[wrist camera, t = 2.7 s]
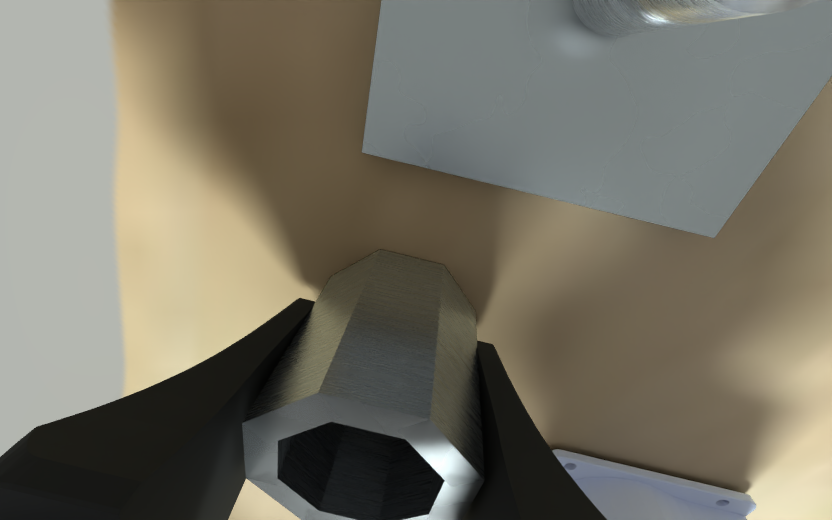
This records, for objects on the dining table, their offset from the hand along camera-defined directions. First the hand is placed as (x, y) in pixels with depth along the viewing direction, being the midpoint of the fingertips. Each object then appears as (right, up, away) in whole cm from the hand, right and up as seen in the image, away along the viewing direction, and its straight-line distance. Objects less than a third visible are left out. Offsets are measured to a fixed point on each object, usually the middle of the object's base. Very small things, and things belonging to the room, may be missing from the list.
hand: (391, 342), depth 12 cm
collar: (0, +1, +1) cm, 1 cm away
